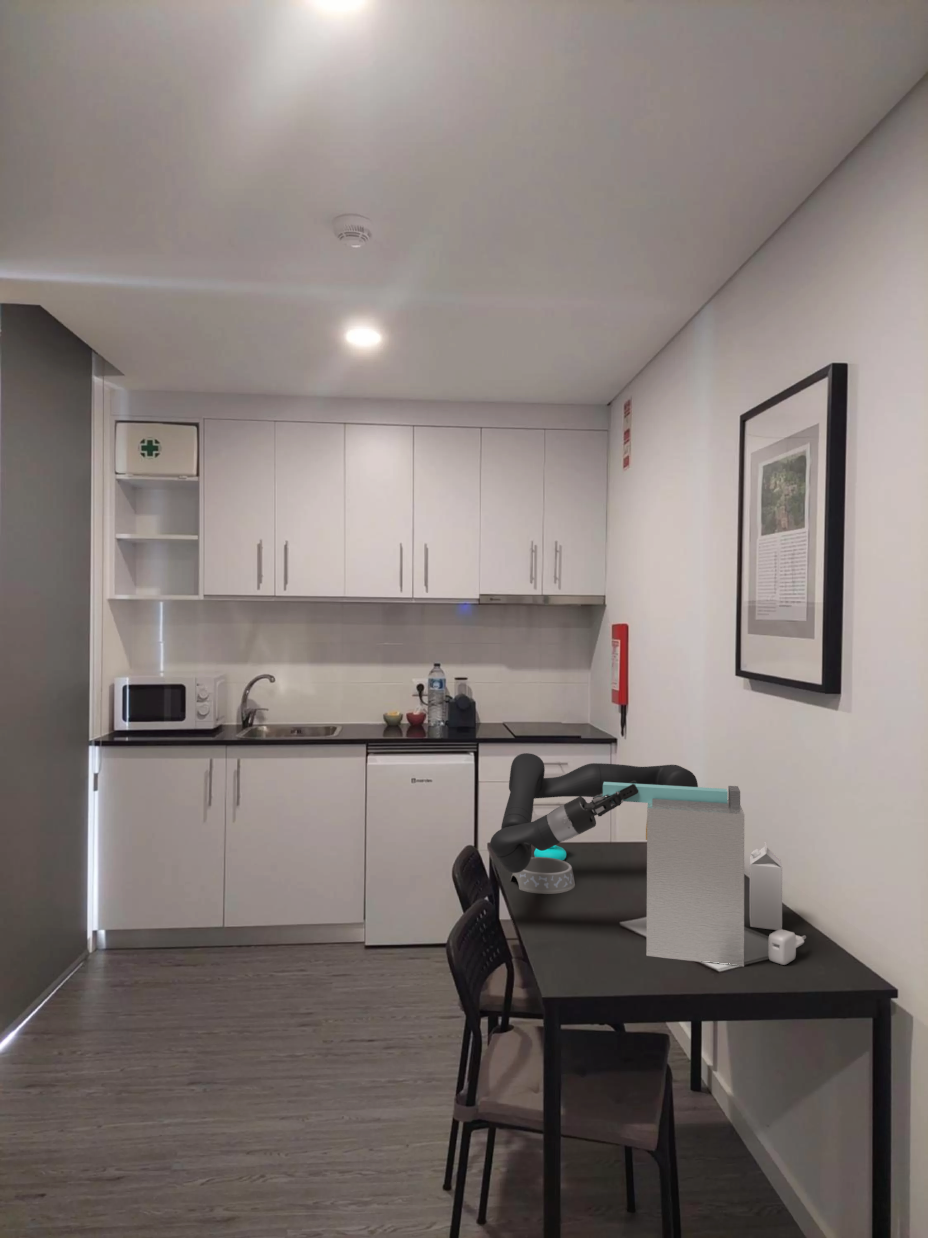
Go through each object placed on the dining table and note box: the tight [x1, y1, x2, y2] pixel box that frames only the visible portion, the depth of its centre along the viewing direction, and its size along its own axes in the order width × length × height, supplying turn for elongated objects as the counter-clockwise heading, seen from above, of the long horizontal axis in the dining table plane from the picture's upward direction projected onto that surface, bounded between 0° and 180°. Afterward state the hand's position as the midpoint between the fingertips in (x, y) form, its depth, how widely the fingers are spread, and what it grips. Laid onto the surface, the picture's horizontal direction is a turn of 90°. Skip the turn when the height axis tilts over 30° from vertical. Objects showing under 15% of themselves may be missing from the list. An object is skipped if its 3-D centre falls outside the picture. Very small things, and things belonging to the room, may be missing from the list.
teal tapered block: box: [603, 782, 728, 804], centre depth 175 cm, size 27×4×4 cm, turn 75°
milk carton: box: [749, 841, 783, 931], centre depth 188 cm, size 7×7×19 cm
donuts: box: [533, 844, 567, 861], centre depth 241 cm, size 10×10×10 cm
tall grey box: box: [645, 785, 745, 967], centre depth 173 cm, size 20×14×36 cm
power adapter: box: [767, 928, 807, 966], centre depth 169 cm, size 11×5×6 cm, turn 132°
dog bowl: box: [509, 856, 576, 895], centre depth 218 cm, size 17×18×5 cm
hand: (636, 786), depth 177 cm, fingers closed on teal tapered block, 3 cm apart
